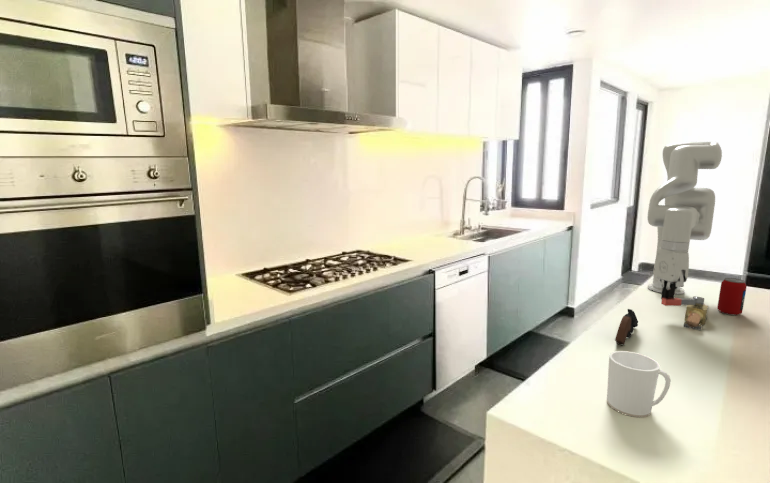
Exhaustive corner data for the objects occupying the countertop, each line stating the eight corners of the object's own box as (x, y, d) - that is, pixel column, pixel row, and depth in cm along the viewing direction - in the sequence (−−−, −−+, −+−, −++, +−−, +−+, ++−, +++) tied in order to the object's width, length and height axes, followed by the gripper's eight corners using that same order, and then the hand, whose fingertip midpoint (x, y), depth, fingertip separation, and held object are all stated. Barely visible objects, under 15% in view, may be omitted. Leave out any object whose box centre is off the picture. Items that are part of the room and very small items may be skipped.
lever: (698, 303, 135) (699, 296, 135) (705, 306, 132) (706, 299, 132) (659, 304, 135) (660, 296, 134) (666, 307, 132) (667, 299, 131)
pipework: (689, 310, 144) (691, 297, 143) (707, 314, 141) (710, 300, 140) (681, 327, 128) (683, 312, 127) (701, 332, 125) (704, 316, 124)
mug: (598, 405, 85) (603, 360, 83) (612, 390, 91) (616, 347, 90) (659, 429, 77) (666, 379, 76) (670, 410, 84) (676, 364, 82)
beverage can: (747, 316, 139) (753, 282, 137) (727, 316, 139) (732, 282, 137) (731, 309, 146) (736, 277, 144) (711, 309, 146) (717, 277, 144)
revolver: (611, 339, 114) (621, 300, 117) (621, 354, 126) (630, 319, 129) (625, 342, 112) (634, 303, 114) (634, 357, 124) (642, 322, 127)
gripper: (647, 242, 140) (641, 293, 143) (680, 250, 125) (672, 307, 128) (669, 242, 140) (662, 293, 143) (704, 250, 125) (695, 307, 128)
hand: (667, 299), depth 136 cm, fingers closed
